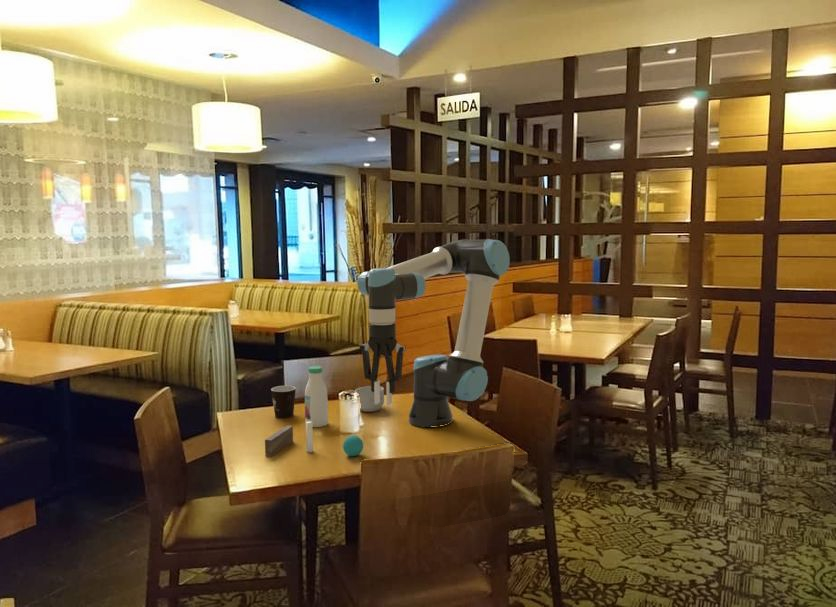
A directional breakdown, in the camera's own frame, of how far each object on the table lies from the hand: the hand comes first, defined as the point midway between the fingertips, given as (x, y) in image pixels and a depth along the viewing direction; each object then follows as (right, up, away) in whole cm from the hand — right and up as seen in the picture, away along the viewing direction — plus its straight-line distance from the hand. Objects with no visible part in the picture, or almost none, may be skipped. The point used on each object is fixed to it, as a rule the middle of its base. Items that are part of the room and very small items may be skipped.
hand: (383, 403), depth 183 cm
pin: (-23, -16, +8) cm, 29 cm away
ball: (-9, -13, +4) cm, 17 cm away
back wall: (-32, -16, +11) cm, 37 cm away
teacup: (-7, -11, +53) cm, 55 cm away
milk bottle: (-25, -13, +34) cm, 44 cm away
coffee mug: (-38, -12, +43) cm, 59 cm away
